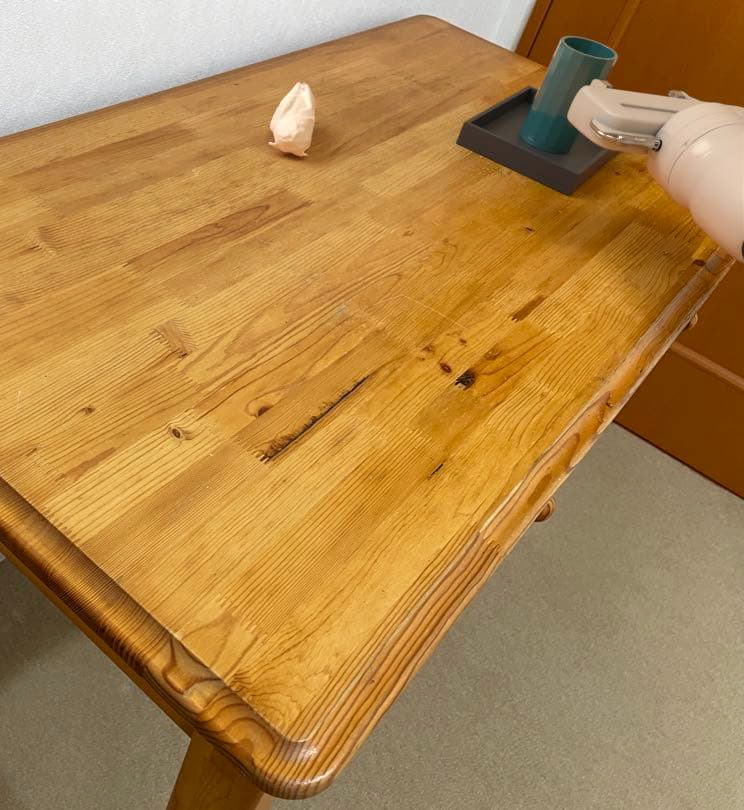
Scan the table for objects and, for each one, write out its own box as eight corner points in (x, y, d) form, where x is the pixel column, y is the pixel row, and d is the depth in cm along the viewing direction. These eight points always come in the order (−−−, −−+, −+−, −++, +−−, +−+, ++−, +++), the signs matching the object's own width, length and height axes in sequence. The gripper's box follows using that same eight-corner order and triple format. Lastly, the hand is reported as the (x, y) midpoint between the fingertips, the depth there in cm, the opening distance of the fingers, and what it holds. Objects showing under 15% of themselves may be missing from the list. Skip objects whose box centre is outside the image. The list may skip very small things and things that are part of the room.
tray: (520, 104, 119) (528, 85, 117) (622, 149, 114) (633, 129, 112) (455, 143, 106) (463, 121, 104) (568, 196, 100) (579, 174, 98)
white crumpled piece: (261, 129, 102) (266, 147, 93) (284, 73, 99) (291, 86, 90) (299, 145, 103) (307, 164, 94) (323, 89, 100) (334, 104, 91)
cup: (558, 131, 112) (602, 40, 104) (579, 156, 107) (627, 62, 99) (511, 125, 111) (552, 32, 103) (531, 150, 106) (575, 55, 98)
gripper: (589, 170, 83) (535, 108, 93) (767, 191, 87) (697, 129, 97) (621, 109, 79) (561, 50, 89) (807, 134, 83) (730, 75, 93)
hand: (634, 91), depth 93 cm, fingers open, 8 cm apart
